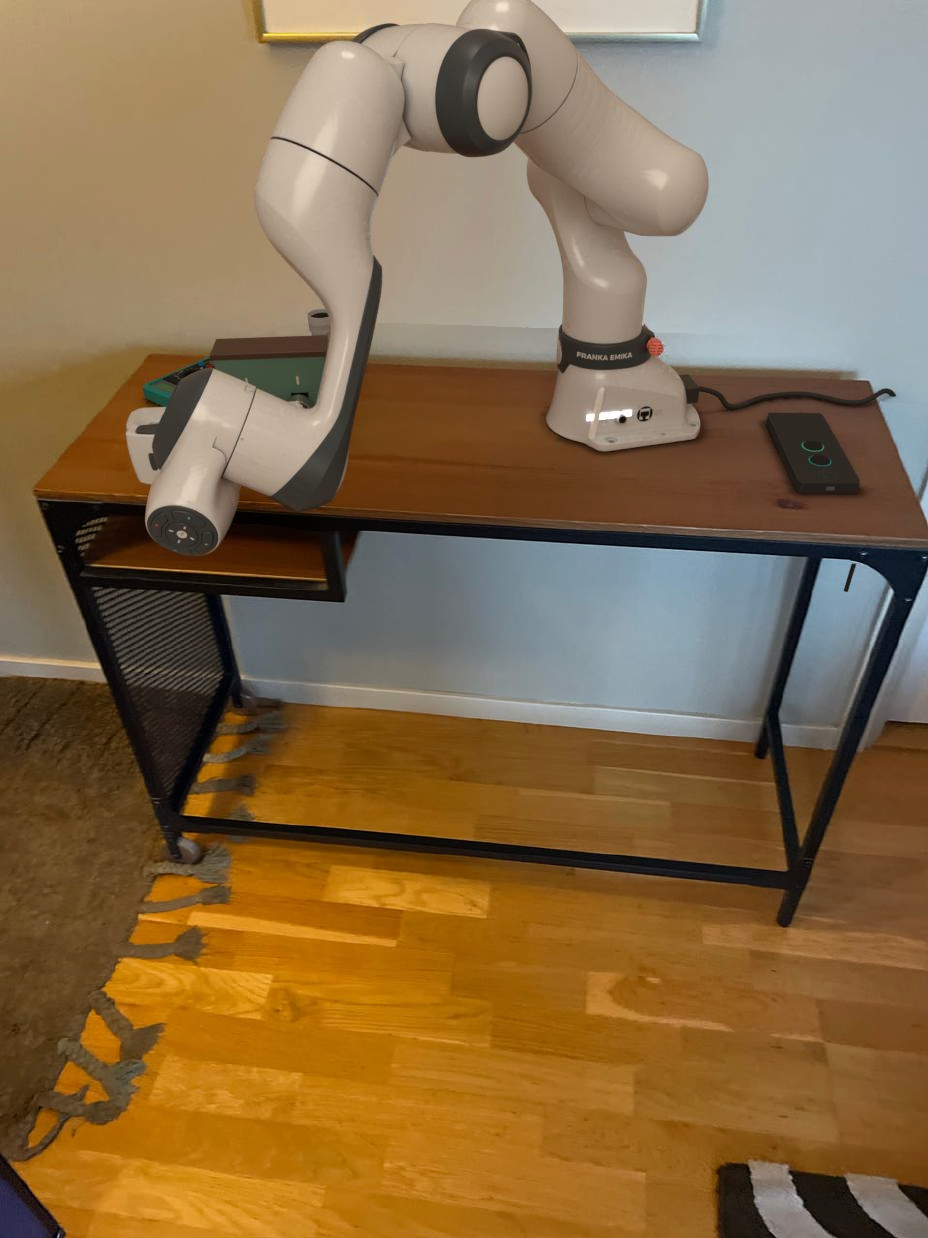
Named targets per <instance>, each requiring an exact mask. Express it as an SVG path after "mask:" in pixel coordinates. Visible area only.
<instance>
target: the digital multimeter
mask: <svg viewBox="0 0 928 1238" xmlns="http://www.w3.org/2000/svg"><path fill="white" fill-rule="evenodd" d="M206 368H213V369H215V366H214V361H213V360H210V355H208V356H207V357H205V358H202V359H200V360H198V361H195V362H194V363H192V364H189V365H187V366H185V367H183V368H180V369H178V370H175V371H173V372H170V373H168V374H165V375H163V376H161V377H158V378H155V379H153V380H150V381H148V382H146V383H145V384H144V385H143V386H142V391H143V395H144V398H145V399H146V400H148V401H150V402H152V403H155V404H156V405H159V406H161V407H166V406H167V404H168V401H169V399H170V397H171V395H172V393H173V391H174V389H175V387H176V386H177V384H178V383H179V381H180V380H181V379H183V378H184V377H186V376H188V375H190V374H192V373H194V372H196V371H199V370H202V369H206Z"/></svg>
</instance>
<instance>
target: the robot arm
mask: <svg viewBox="0 0 928 1238" xmlns="http://www.w3.org/2000/svg"><path fill="white" fill-rule="evenodd" d="M569 38H570V37H568V36H567V34H566V33H565V31H563V30H562V29H561V27H559V25H558V24H557V23H556V22H555V21H554V20H553V19H552V18H551V17H550V16H549V15H548V14H547V13H546V12H544V9H542V8H540V7H539V6H538V5H537V4H536V3H535V2H533V1H532V0H470V1H469V3H467V5H466V6H465V7H464V8H463V10H461V13H460V15H459V17H458V19H457V21H456V23H455V25H453V24H445V23H437V22H429V23H428V22H427V23H408V24H401V25H400V24H398V23H393V22H389V23H381V24H377V25H375V26H371V27H369V28H367V29H365V30H363V31H361V32H360V33H358V34H357V35H356V36H355V37H354V38H353V39H351V40H342V39H341V40H333V41H329V42H327V43H325V44H323V45H322V46H321V47H319V48H318V49H317V50H316V51H315V52H314V54H313V55H312V56H311V58H310V59H309V61H308V62H307V63H306V66H305V67H304V69H303V70H302V72H301V74H300V76H299V77H298V79H297V81H296V83H295V84H294V86H293V88H292V90H291V91H290V94H289V95H288V98H287V100H286V101H285V103H284V105H283V108H282V110H281V111H280V114H279V116H278V118H277V120H276V123H275V126H274V127H273V131H272V133H271V135H270V137H269V141H268V143H267V146H266V149H265V151H264V154H263V157H262V160H261V163H260V166H259V171H258V174H257V178H256V182H255V187H254V192H253V200H254V201H253V202H254V208H255V212H256V217H257V220H258V223H259V225H260V227H261V229H262V232H263V233H264V235H265V236H266V238H267V240H268V241H269V243H270V245H271V246H272V248H274V250H275V251H276V252H277V253H278V255H279V256H280V257H281V258H282V259H283V260H284V261H285V263H286V264H287V265H288V266H289V267H290V268H291V269H292V270H293V271H294V272H295V273H296V274H297V275H298V276H299V277H300V278H301V279H302V280H303V281H304V282H305V283H306V284H307V286H308V287H309V288H310V289H311V290H312V291H313V293H314V294H315V295H316V296H317V298H318V299H319V301H320V302H321V304H322V306H323V307H324V309H326V311H327V314H328V316H329V320H330V326H331V335H330V342H329V346H328V351H327V355H326V360H325V364H324V369H323V374H322V378H321V383H320V387H319V392H318V396H317V401H316V405H315V406H314V407H312V408H310V409H305V408H303V406H302V405H301V404H300V403H298V402H295V401H289V402H287V401H285V400H282V399H280V398H278V397H276V396H273V395H271V394H269V393H267V392H265V391H262V390H260V389H258V388H256V387H255V386H253V385H251V384H249V383H247V382H244V381H242V380H240V379H238V378H235V377H233V376H231V375H228V374H226V373H224V372H221V371H219V370H216V369H213V368H206V369H202V370H199V371H196V372H194V373H192V374H190V375H188V376H186V377H184V378H183V379H181V380H180V381H179V383H178V384H177V386H176V387H175V389H174V391H173V393H172V395H171V397H170V399H169V401H168V404H167V406H166V407H164V406H155V407H154V406H153V407H152V406H151V407H140V408H137V409H134V410H133V411H131V413H129V416H128V418H127V421H126V424H125V429H126V431H125V440H126V447H127V450H128V455H129V458H130V462H131V464H132V467H133V471H134V473H135V475H136V477H137V479H138V481H139V482H140V483H142V484H145V485H150V488H149V490H148V496H147V500H146V506H145V513H144V523H145V528H146V531H147V533H148V535H149V537H151V539H152V540H153V541H154V542H155V543H156V544H157V545H158V546H160V547H161V548H163V549H165V550H167V551H170V552H173V553H175V554H179V555H181V556H185V557H200V556H206V555H208V554H210V553H212V552H214V551H215V550H216V549H217V548H218V547H219V546H220V544H221V543H222V541H223V540H224V538H225V537H226V535H227V532H228V531H229V529H230V527H231V525H232V523H233V520H234V518H235V516H236V515H235V514H236V511H237V508H238V505H239V501H240V491H241V489H242V487H245V488H247V489H249V490H251V491H254V492H257V493H260V494H262V495H264V496H267V498H268V499H269V500H272V501H273V502H275V503H278V504H279V505H281V506H283V507H285V508H287V509H289V510H290V511H293V512H294V513H301V512H307V511H311V510H314V509H318V508H320V507H322V506H326V505H327V504H329V503H331V502H332V501H333V500H334V499H335V496H336V495H337V493H338V492H339V491H340V489H341V487H342V485H343V482H344V480H345V477H346V474H347V471H348V465H349V457H350V445H351V444H350V442H351V438H352V432H353V426H354V422H355V417H356V412H357V408H358V404H359V399H360V395H361V391H362V387H363V382H364V378H365V373H366V369H367V365H368V361H369V356H370V352H371V348H372V342H373V337H374V333H375V330H376V329H375V328H376V324H377V320H378V314H379V309H380V302H381V298H382V290H383V266H382V264H381V263H380V262H379V260H378V259H377V257H376V256H375V255H374V253H373V247H372V220H373V215H374V211H375V207H376V206H377V205H376V204H377V202H378V199H379V197H380V194H381V191H382V189H383V186H384V184H385V181H386V178H387V175H388V172H389V170H390V166H391V164H392V159H393V158H394V156H395V154H396V153H397V152H398V151H399V149H401V148H402V147H406V148H409V149H412V150H417V151H420V152H425V153H438V154H447V155H448V154H449V155H451V154H453V155H459V156H462V157H465V158H483V157H490V156H494V155H497V154H501V153H502V152H504V151H506V149H508V148H509V147H510V146H511V145H512V144H514V145H515V146H516V147H517V148H518V149H519V150H520V151H521V152H522V153H523V154H524V155H525V156H526V157H527V161H526V179H527V180H526V181H527V185H528V188H529V191H530V193H531V194H532V196H533V197H534V199H535V201H537V203H539V205H540V207H541V208H542V210H543V211H544V213H545V215H546V217H547V220H548V222H549V224H550V226H551V229H552V231H553V234H554V238H555V240H556V244H557V247H558V253H559V256H560V261H561V266H562V267H561V269H562V282H563V283H562V322H561V324H560V325H559V327H558V335H557V338H556V339H557V340H556V357H555V358H556V359H555V361H556V366H557V375H556V379H555V385H554V390H553V394H552V398H551V401H550V404H549V408H548V411H547V413H546V416H545V422H546V424H547V426H548V427H549V429H550V430H551V431H552V432H554V433H555V434H557V435H559V436H560V437H563V438H565V439H568V440H570V441H575V442H578V443H582V444H585V445H587V446H588V447H590V448H592V449H594V450H596V451H599V452H611V451H613V452H614V451H620V450H626V449H633V448H640V447H648V446H655V445H663V444H670V443H676V442H684V441H691V440H695V439H696V438H697V437H698V436H699V435H700V432H701V419H700V415H699V413H698V411H697V409H696V407H694V405H693V404H698V403H699V396H700V393H706V394H710V395H713V396H714V397H716V398H717V399H718V400H719V401H720V403H721V405H722V406H723V407H724V408H725V409H728V410H731V411H735V410H740V409H743V408H747V407H749V406H751V405H753V404H755V403H758V402H761V401H767V400H772V399H780V398H781V399H782V398H794V397H795V398H798V397H799V398H811V399H816V400H817V399H818V400H822V401H825V402H829V403H833V404H838V405H844V406H862V405H866V404H868V403H870V402H872V401H874V400H875V399H877V398H879V397H881V396H882V395H885V394H887V395H888V396H889V397H891V398H894V397H897V395H896V392H895V391H894V390H893V389H891V388H887V387H885V388H881V389H879V390H878V391H876V392H875V393H873V394H871V395H869V396H868V397H865V398H862V399H853V400H852V399H845V398H840V397H835V396H831V395H826V394H823V393H818V392H812V391H782V392H781V391H780V392H773V393H766V394H760V395H757V396H755V397H752V398H750V399H747V400H746V401H744V402H741V403H738V404H732V403H729V402H728V401H727V399H726V398H725V395H723V393H722V392H720V391H718V390H716V389H714V388H712V387H711V388H710V387H706V386H702V385H701V386H700V385H698V384H697V383H696V381H695V380H694V379H693V378H692V377H691V376H690V375H689V374H686V373H685V374H679V373H678V372H677V371H676V370H675V369H674V368H673V367H672V366H670V365H669V364H668V363H666V362H665V361H664V360H662V359H661V358H660V356H661V355H662V354H663V353H664V350H665V348H664V347H665V346H664V344H663V343H662V341H661V339H659V338H658V337H656V335H655V333H654V331H652V330H651V329H649V327H648V326H647V324H646V323H643V322H644V312H645V303H646V294H647V285H648V277H647V272H646V269H645V266H644V264H643V263H642V261H641V260H640V258H638V256H637V255H636V253H635V252H634V251H633V249H632V248H631V246H630V244H629V242H628V240H627V237H626V234H625V232H626V233H629V234H633V235H635V236H640V237H676V236H680V235H682V234H683V233H685V232H686V231H687V230H689V229H690V228H691V227H692V225H693V224H695V222H696V221H697V220H698V218H699V217H700V215H701V214H702V211H703V210H704V207H705V204H706V201H707V198H708V194H709V187H710V186H709V185H710V179H709V172H708V167H707V164H706V161H705V159H704V157H703V156H702V155H701V154H700V153H699V152H697V151H696V150H694V149H692V148H690V147H688V146H686V145H685V144H683V143H681V142H679V141H677V140H676V139H675V138H673V137H671V136H669V135H668V134H666V133H665V132H664V131H663V130H661V129H660V128H659V127H657V126H656V125H655V124H654V123H652V122H651V121H650V120H649V119H647V118H646V117H645V116H644V115H642V114H641V113H640V112H639V111H637V110H636V109H635V108H634V107H632V106H631V105H629V103H627V102H626V101H625V100H623V99H622V98H621V97H619V96H618V95H617V94H615V93H614V92H613V91H612V90H611V89H610V88H608V87H609V86H606V85H607V84H605V83H604V82H603V81H602V79H600V77H599V76H598V75H597V73H596V72H595V71H594V69H593V68H592V67H591V66H590V64H589V63H588V62H587V61H586V59H585V58H584V57H583V55H582V54H581V53H580V51H579V50H578V49H577V48H576V46H575V45H574V43H573V42H572V41H571V40H570V39H569ZM856 566H857V563H856V562H855V563H851V565H850V568H849V571H848V573H847V578H846V581H845V584H844V588H843V592H845V593H849V590H850V586H851V583H852V579H853V576H854V573H855V571H856Z"/></svg>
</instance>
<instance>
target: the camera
mask: <svg viewBox="0 0 928 1238" xmlns="http://www.w3.org/2000/svg"><path fill="white" fill-rule="evenodd" d="M306 315H307V322H308V331H309V332H310V333H311V336H313V335H328V346H329V342H330V335H331V326H330V320H329V316H328V314H327V311H326V309H325V308H316V309H312V310H310V311H309V312H307V314H306ZM328 346H327V351H328Z"/></svg>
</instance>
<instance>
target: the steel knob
mask: <svg viewBox="0 0 928 1238" xmlns="http://www.w3.org/2000/svg"><path fill="white" fill-rule="evenodd" d="M289 401H295V402H298V403H300V404H301V405H302V406H303V408H305V409H310V408H312V403H311V401H310V400H309V399H308V398H307V397H306V396H305V394H303V393H299V394H298V395H293V396H291V397H290V398H289V399H288V401H287V402H289Z"/></svg>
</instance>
